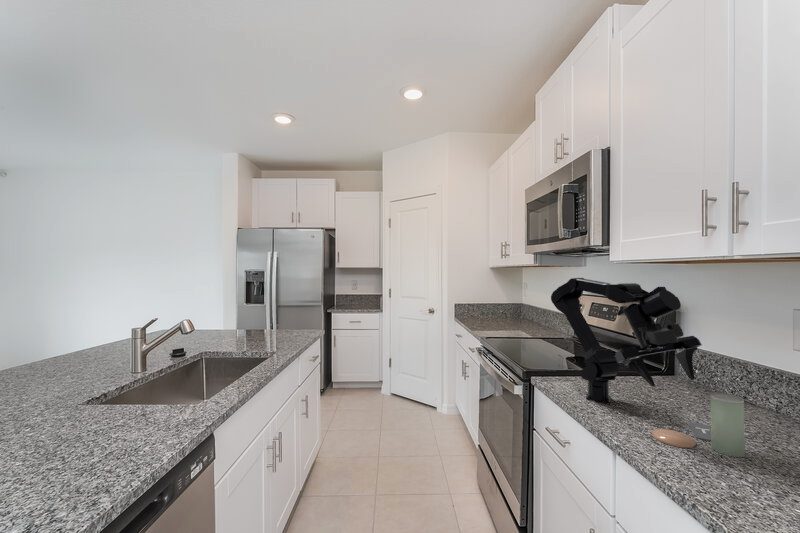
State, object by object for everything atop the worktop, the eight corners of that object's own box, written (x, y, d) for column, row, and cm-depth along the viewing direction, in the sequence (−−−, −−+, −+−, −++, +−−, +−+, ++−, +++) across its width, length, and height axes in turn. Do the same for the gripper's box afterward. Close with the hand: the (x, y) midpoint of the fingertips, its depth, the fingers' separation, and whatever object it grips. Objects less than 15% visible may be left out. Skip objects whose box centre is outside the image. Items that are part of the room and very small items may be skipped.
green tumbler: (708, 442, 79) (707, 390, 79) (741, 448, 76) (739, 395, 76) (714, 452, 74) (712, 398, 75) (749, 460, 71) (747, 403, 72)
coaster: (651, 428, 86) (651, 426, 86) (692, 436, 82) (692, 434, 82) (654, 441, 79) (654, 439, 79) (698, 451, 75) (698, 448, 75)
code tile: (688, 422, 89) (688, 421, 89) (729, 430, 85) (729, 428, 85) (695, 438, 81) (695, 436, 81) (741, 447, 77) (741, 445, 77)
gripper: (617, 322, 87) (646, 384, 79) (695, 307, 85) (733, 370, 77) (604, 334, 97) (629, 391, 89) (674, 321, 94) (706, 378, 86)
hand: (673, 383), depth 85 cm, fingers open, 9 cm apart
